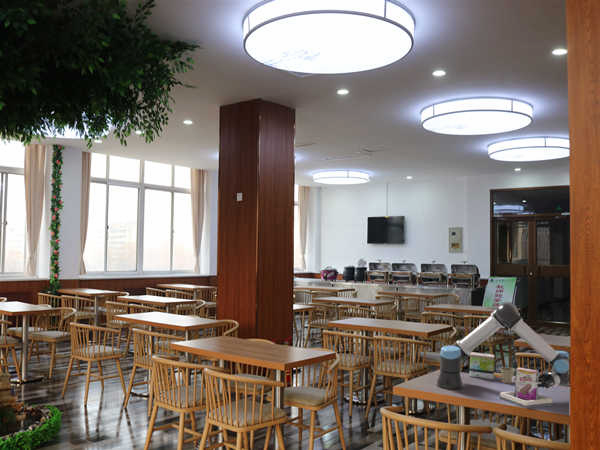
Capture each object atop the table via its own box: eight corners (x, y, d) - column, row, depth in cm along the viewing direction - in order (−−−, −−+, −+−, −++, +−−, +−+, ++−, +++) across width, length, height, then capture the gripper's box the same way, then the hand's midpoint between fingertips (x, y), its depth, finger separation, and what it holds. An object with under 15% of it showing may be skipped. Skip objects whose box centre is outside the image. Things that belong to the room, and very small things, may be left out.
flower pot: (495, 380, 343) (496, 367, 343) (507, 380, 346) (508, 366, 347) (506, 384, 334) (506, 370, 335) (518, 384, 337) (518, 370, 338)
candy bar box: (514, 398, 297) (515, 368, 298) (516, 396, 301) (517, 367, 302) (536, 402, 291) (537, 371, 292) (537, 400, 295) (538, 370, 296)
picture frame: (499, 398, 300) (500, 392, 300) (525, 396, 309) (525, 390, 309) (525, 408, 284) (526, 401, 284) (552, 405, 292) (552, 398, 292)
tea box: (469, 376, 351) (470, 354, 352) (469, 373, 360) (470, 351, 361) (493, 379, 346) (494, 356, 347) (493, 376, 356) (493, 353, 357)
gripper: (568, 392, 293) (540, 395, 284) (531, 381, 315) (504, 383, 306) (568, 378, 293) (541, 381, 284) (531, 368, 316) (504, 370, 307)
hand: (522, 382), depth 295 cm, fingers open, 13 cm apart
